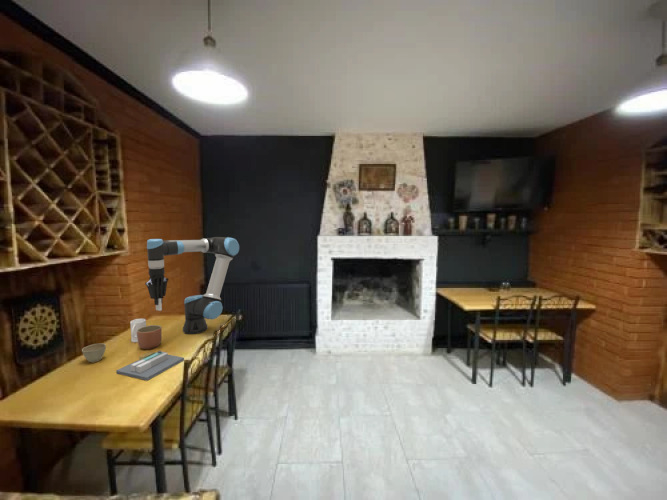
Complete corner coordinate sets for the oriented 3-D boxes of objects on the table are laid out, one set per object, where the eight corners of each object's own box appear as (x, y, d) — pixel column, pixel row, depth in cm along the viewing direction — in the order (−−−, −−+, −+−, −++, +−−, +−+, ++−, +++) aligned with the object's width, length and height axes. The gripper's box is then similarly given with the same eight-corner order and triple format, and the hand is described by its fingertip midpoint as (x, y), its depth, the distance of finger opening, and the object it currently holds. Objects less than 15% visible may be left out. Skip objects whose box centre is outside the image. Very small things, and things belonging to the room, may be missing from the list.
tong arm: (159, 357, 168) (159, 351, 167) (163, 357, 167) (162, 352, 167) (131, 370, 153) (130, 364, 153) (134, 371, 152) (134, 365, 152)
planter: (140, 353, 176) (139, 334, 175) (136, 346, 185) (134, 328, 184) (164, 347, 184) (163, 328, 183) (159, 340, 194) (158, 323, 192)
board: (157, 353, 176) (157, 344, 175) (186, 359, 169) (185, 349, 168) (116, 373, 154) (115, 362, 153) (147, 380, 147) (146, 369, 146)
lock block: (149, 357, 168) (149, 351, 167) (154, 358, 167) (154, 352, 166) (139, 361, 162) (139, 356, 162) (144, 363, 161) (144, 357, 161)
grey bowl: (81, 360, 167) (80, 347, 166) (104, 354, 174) (103, 342, 174) (85, 366, 160) (84, 353, 159) (108, 360, 168) (107, 347, 167)
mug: (138, 344, 188) (137, 324, 186) (124, 344, 188) (123, 324, 186) (150, 336, 199) (149, 318, 198) (136, 336, 199) (135, 318, 198)
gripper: (161, 265, 179) (163, 306, 181) (140, 269, 167) (143, 312, 169) (171, 266, 176) (173, 307, 179) (151, 270, 164) (153, 314, 167)
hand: (158, 310), depth 174 cm, fingers closed
